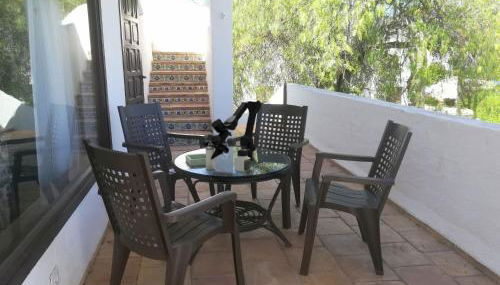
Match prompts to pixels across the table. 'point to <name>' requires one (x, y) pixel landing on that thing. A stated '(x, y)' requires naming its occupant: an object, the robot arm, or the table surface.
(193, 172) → the table surface
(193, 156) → the tote
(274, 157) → the table surface
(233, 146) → the table surface
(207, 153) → the canister
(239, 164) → the medicine bottle
